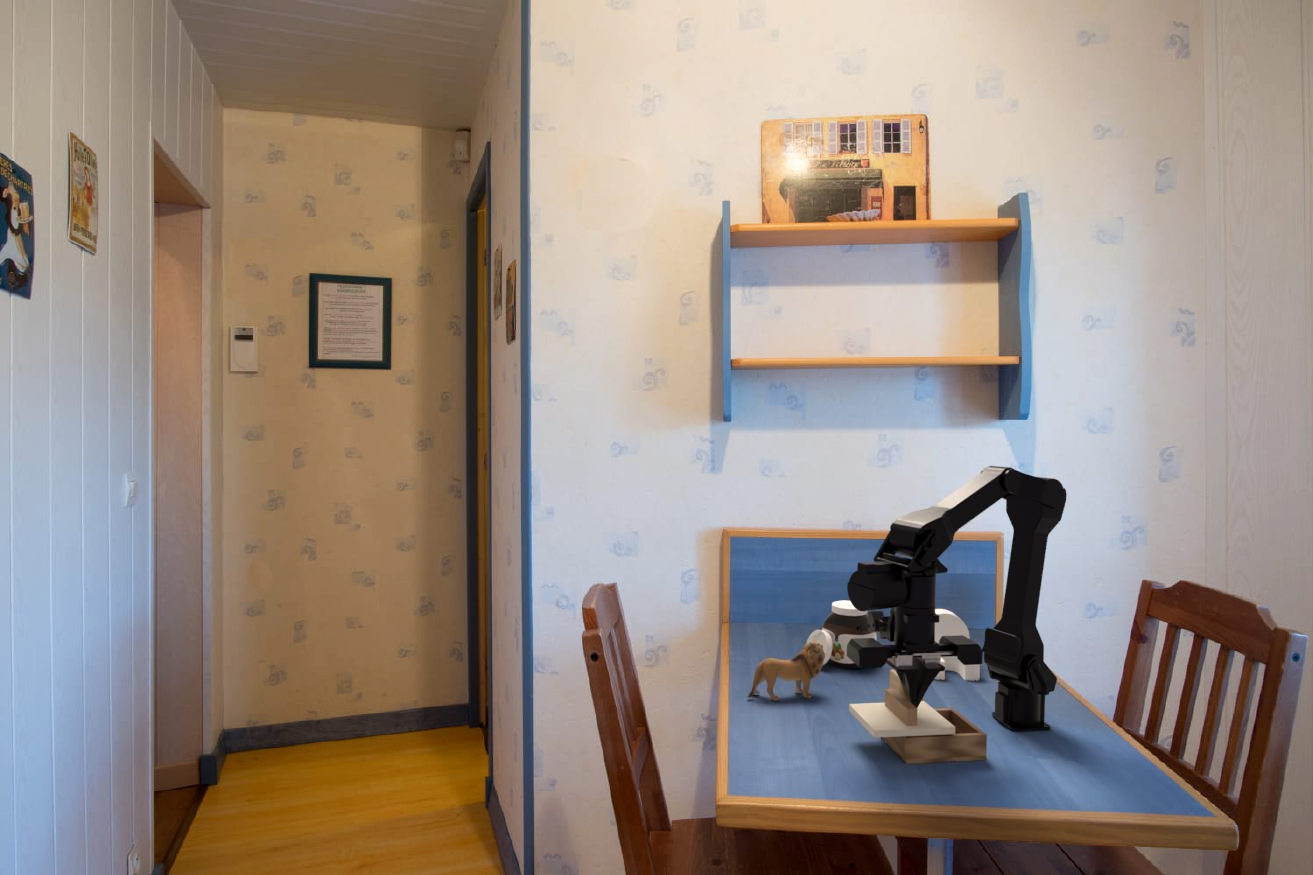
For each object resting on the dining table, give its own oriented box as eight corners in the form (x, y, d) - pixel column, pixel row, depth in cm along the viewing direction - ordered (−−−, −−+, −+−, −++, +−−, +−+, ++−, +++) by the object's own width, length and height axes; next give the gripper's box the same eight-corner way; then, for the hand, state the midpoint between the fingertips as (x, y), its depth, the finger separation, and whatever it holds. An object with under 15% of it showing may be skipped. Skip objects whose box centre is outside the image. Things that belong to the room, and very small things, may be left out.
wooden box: (952, 731, 124) (952, 707, 124) (986, 759, 114) (986, 734, 114) (878, 734, 123) (878, 710, 123) (906, 763, 113) (906, 738, 113)
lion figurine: (815, 686, 144) (816, 636, 144) (831, 696, 139) (831, 645, 139) (741, 695, 139) (741, 644, 139) (754, 706, 134) (755, 653, 134)
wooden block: (911, 710, 133) (912, 662, 132) (922, 719, 129) (923, 670, 129) (888, 711, 132) (889, 663, 132) (899, 720, 128) (899, 671, 128)
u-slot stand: (952, 651, 165) (953, 600, 165) (981, 681, 147) (982, 624, 147) (905, 650, 166) (906, 599, 165) (928, 680, 148) (929, 622, 147)
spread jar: (881, 664, 156) (882, 605, 156) (852, 678, 148) (853, 616, 147) (828, 651, 164) (828, 595, 164) (797, 663, 156) (798, 605, 156)
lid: (923, 707, 123) (924, 684, 123) (955, 733, 114) (955, 709, 113) (849, 710, 122) (849, 687, 122) (874, 737, 112) (874, 713, 112)
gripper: (948, 590, 126) (946, 687, 127) (834, 592, 124) (833, 691, 125) (985, 607, 115) (983, 714, 116) (861, 610, 113) (859, 719, 114)
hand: (912, 708), depth 118 cm, fingers closed
